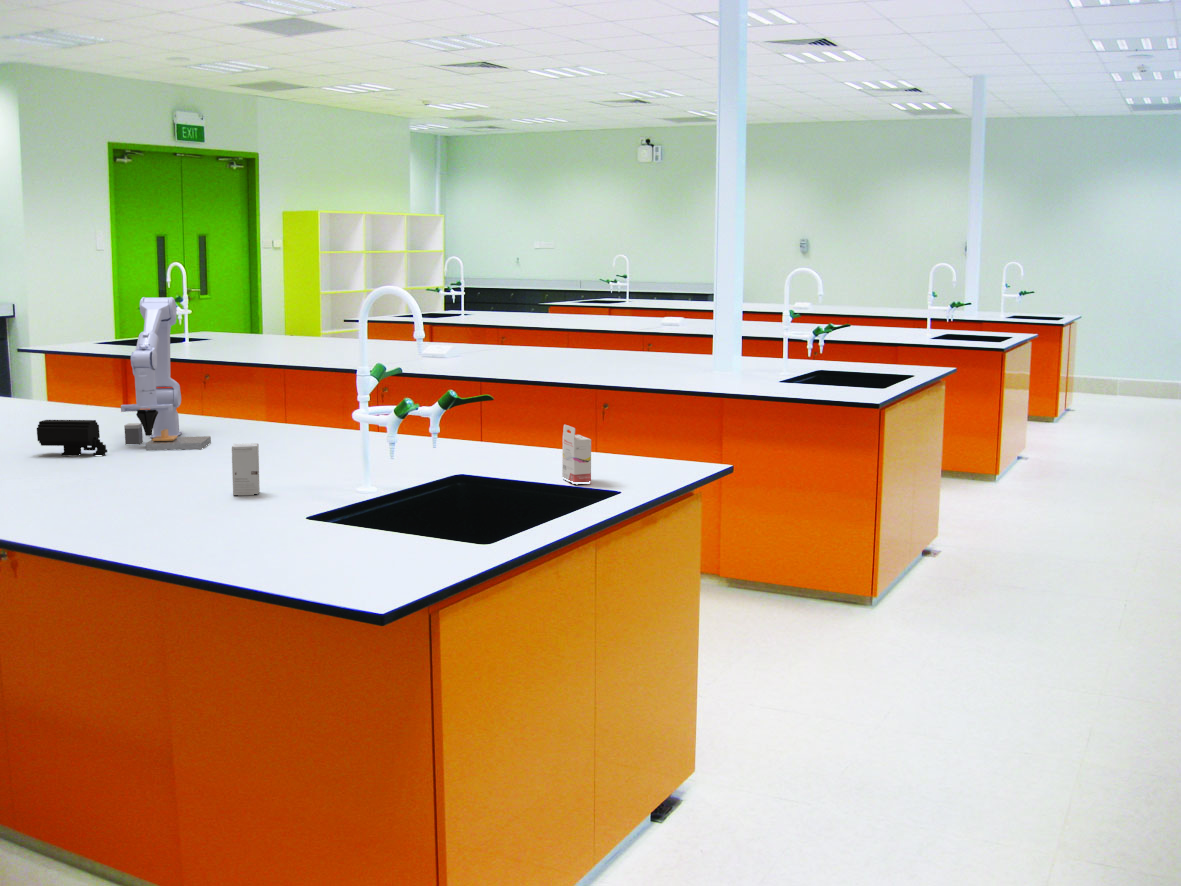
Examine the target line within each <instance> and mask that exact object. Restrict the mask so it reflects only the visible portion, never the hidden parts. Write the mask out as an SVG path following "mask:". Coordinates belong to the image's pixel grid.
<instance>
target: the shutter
mask: <svg viewBox="0 0 1181 886" xmlns="http://www.w3.org/2000/svg"><path fill="white" fill-rule="evenodd" d="M178 437H179V436H168V429H164V430H162V431H161V436H156V437H154V438H151V440H152V441H173V440H175V439H176V438H178Z"/></svg>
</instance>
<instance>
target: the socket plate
mask: <svg viewBox="0 0 1181 886" xmlns="http://www.w3.org/2000/svg"><path fill="white" fill-rule="evenodd" d="M209 443H210V444H211V443H212V437H211V436H209V435H207V436H178V438H176V439H175V440H173V441H152V439H151V440H150V441H148V442H146V443H145V450H146V451H164V450H163V449H199V450H203V449H205V448H206V447H207V446H209V445H210V444H209ZM208 444H209V445H208ZM206 445H207V446H206ZM205 446H206V447H205ZM204 447H205V448H204ZM202 448H203V449H202Z"/></svg>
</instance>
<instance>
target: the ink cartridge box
mask: <svg viewBox="0 0 1181 886" xmlns="http://www.w3.org/2000/svg"><path fill="white" fill-rule="evenodd" d="M562 430H563V432H562V464H561V465H562V466H561V467H562V470H561V471H562V472H561V473H562V477H564V478H566V479H568V480H570V481H573V482H589V481H591V482H592V439H591V438H589V437H586V436H583V435H581V434H576V428H575V427H573V426H570V425H567V424H566V423H565V424H563V428H562ZM568 431H569V432H568Z"/></svg>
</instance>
